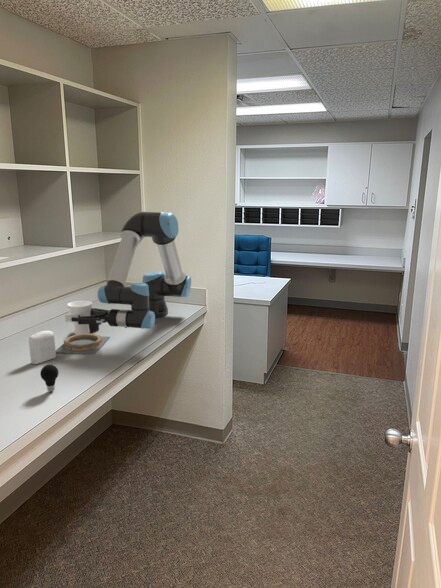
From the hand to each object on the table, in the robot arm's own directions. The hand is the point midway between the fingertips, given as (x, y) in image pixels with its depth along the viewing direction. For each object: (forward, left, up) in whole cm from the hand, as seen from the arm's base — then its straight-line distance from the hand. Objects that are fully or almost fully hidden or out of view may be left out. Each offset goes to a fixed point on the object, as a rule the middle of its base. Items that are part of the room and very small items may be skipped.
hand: (71, 315), depth 197 cm
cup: (+1, +5, -8) cm, 9 cm away
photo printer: (+18, -5, -14) cm, 24 cm away
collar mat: (0, +5, -14) cm, 15 cm away
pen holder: (-20, +1, -14) cm, 24 cm away
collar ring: (0, +5, -14) cm, 15 cm away
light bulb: (+45, +10, -14) cm, 48 cm away
